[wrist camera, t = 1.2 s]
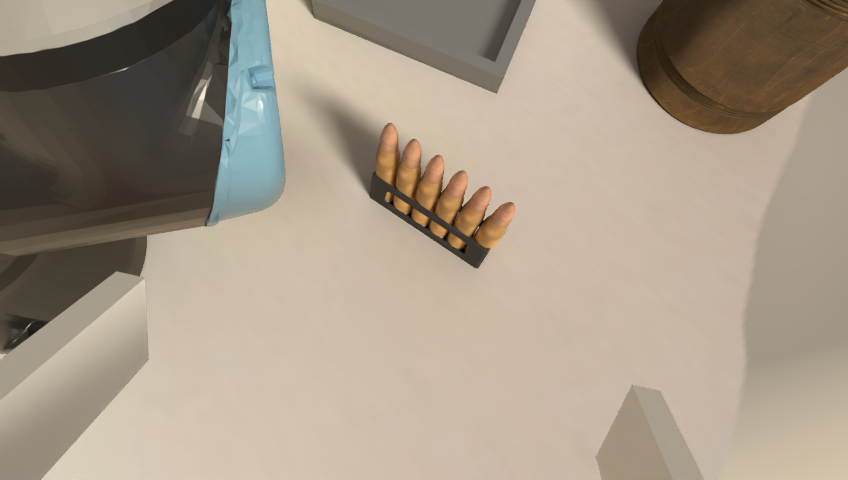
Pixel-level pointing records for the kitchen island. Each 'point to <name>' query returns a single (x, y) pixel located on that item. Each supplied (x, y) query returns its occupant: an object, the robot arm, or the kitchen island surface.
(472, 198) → the ammunition clip
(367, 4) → the tray
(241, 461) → the kitchen island surface
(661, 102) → the wooden container
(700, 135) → the kitchen island surface
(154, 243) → the kitchen island surface
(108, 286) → the robot arm
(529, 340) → the kitchen island surface
